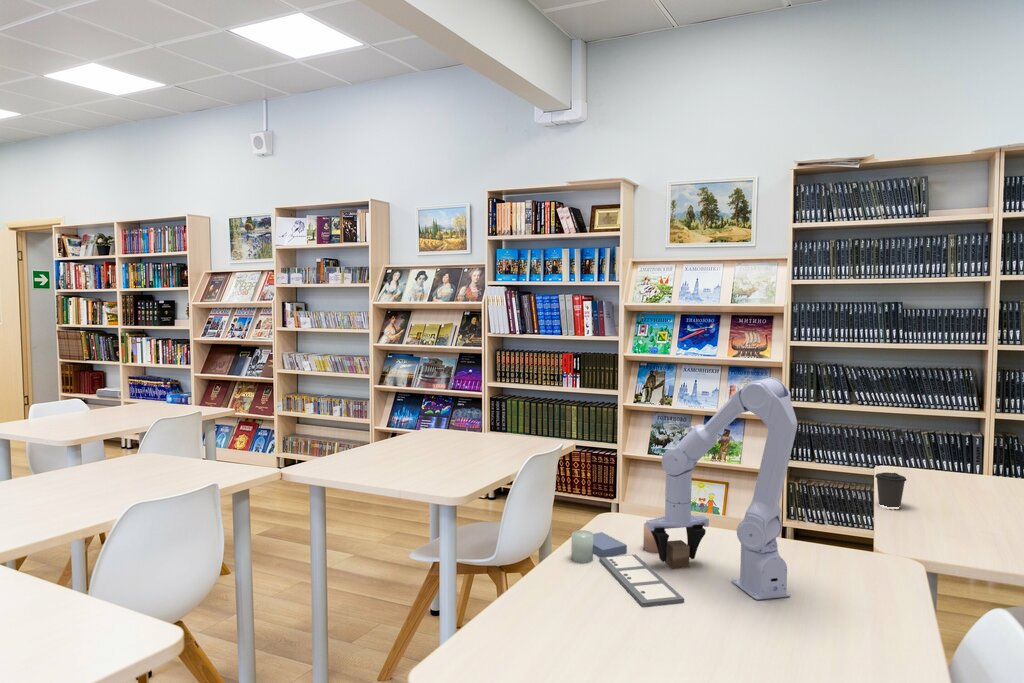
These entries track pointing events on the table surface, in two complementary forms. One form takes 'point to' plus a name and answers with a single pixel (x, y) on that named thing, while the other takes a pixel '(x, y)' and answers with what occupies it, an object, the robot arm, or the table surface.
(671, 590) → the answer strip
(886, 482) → the coffee cup
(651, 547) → the peach dome-topped cylinder
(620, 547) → the slate blue flat block
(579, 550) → the sage dome-ended cylinder
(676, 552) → the block
